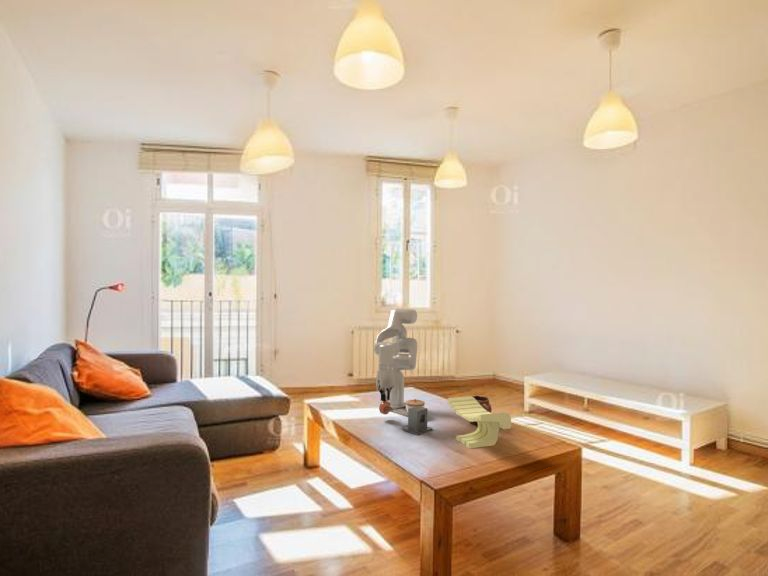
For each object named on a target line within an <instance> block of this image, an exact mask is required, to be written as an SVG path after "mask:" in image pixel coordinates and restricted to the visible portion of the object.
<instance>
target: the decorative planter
mask: <svg viewBox="0 0 768 576" xmlns="http://www.w3.org/2000/svg"><path fill="white" fill-rule="evenodd" d="M471 397H473V398H475V399H476V400H477V402H479V404H480V405H481V406H482V407H483V408H484V409H485V410H487V411H488V412H490V413H492V410H493V409H492V405H491V404H490V399H489V398H488V397H487V396H480V395H471ZM468 423H469V424H471V425H473V426H478V423H477V421H475V422H470V421H468Z"/></svg>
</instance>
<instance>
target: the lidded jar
mask: <svg viewBox="0 0 768 576" xmlns="http://www.w3.org/2000/svg"><path fill="white" fill-rule="evenodd" d="M425 402H426V401H424V400H420V399H416V398H414V399H408V400H406V401H405V403H406V406H405V410H406V412H408V409H410V408H414V407H417V406H420V407H424V408H425Z"/></svg>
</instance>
